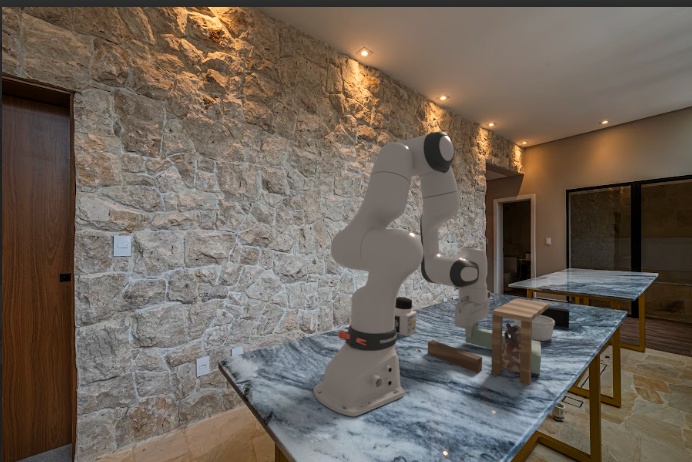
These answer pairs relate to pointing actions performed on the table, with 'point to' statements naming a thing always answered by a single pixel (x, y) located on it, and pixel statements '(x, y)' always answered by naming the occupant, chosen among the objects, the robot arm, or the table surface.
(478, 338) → the sage green l-bracket
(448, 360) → the stick
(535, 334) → the ramekin
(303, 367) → the table surface
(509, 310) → the shelf
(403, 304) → the container
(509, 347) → the figurine
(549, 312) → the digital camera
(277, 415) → the table surface
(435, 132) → the robot arm
